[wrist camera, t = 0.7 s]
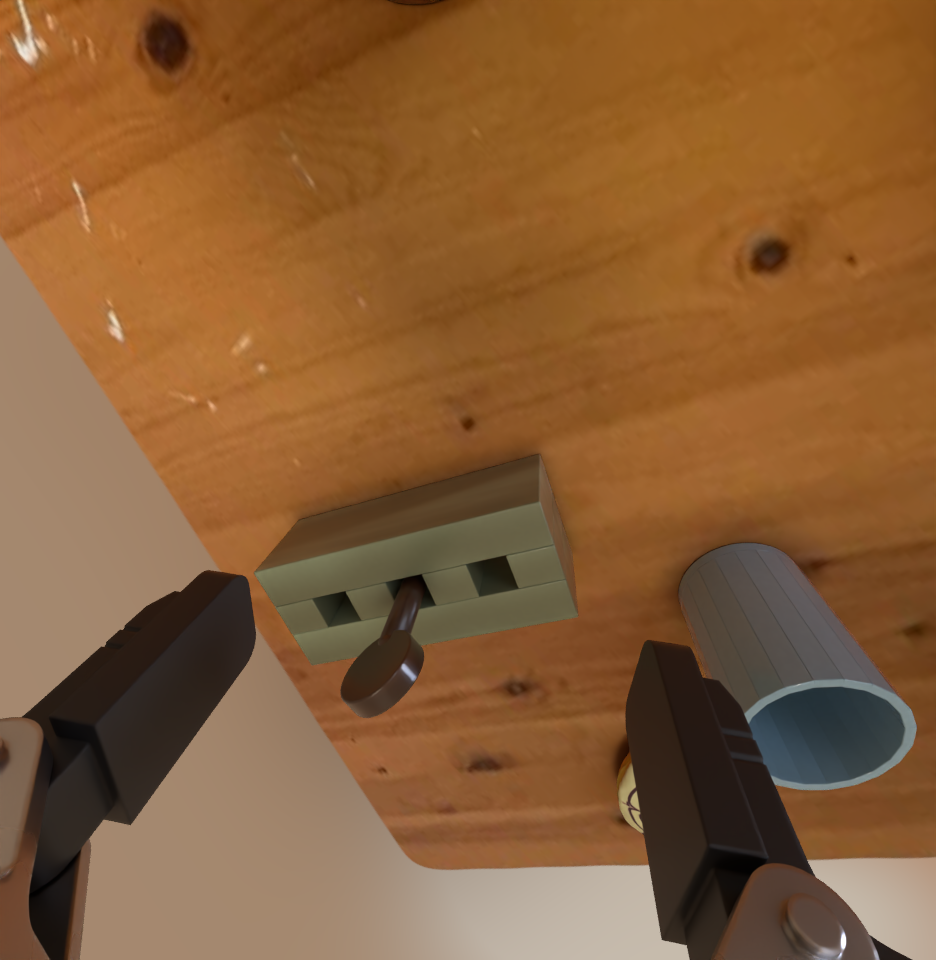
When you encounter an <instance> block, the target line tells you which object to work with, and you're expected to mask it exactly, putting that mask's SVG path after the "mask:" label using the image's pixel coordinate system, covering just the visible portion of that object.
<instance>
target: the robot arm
mask: <svg viewBox="0 0 936 960" xmlns="http://www.w3.org/2000/svg"><path fill="white" fill-rule="evenodd" d="M389 1H393V2H397V3H402V4H426V3H432V2H436V1H439V0H389ZM255 639H256V631H255V623H254V616H253V609H252V602H251V595H250V588H249V582H248V580H247V578H246V577H245V576H242V575H236V574H230V573H223V572H217V571H210V570H207V571H204V572H202V573H201V574H199V575H198V576H197V577H196V578H195V579H194V580H193V581H192V582H191V583H190V584H189V585H188V586H187V587H185V589H183V590H182V591H181V592H176V591H174V592H172V593H170V594H168V595H167V596H165V597H163V598H161V599H159V600H157V601H155V602H153V603H152V604H150V605H148V606H146V607H145V608H144V609H143V610H142V611H141V612H139V613H138V614H137V615H136V616H135V617H134V618H133V619H132V620H131V621H129V622H128V623H127V624H126V625H125V628H124V629H123V630H119V631H118V632H117V633H116V634H115V635H114V636H113V637H111V638H110V639H109V640H108V641H107V642H106V645H105V647H100V648H99V649H98V650H97V651H96V652H95V653H94V654H92V655H91V656H90V657H89V658H88V659H87V660H86V661H85V662H83V663H82V664H81V665H80V666H79V667H78V668H77V669H76V670H75V671H73V672H72V673H71V674H70V675H69V676H68V677H67V678H66V679H65V680H63V681H62V682H61V683H60V684H59V685H58V686H57V687H55V688H54V689H53V690H52V691H51V692H50V693H49V694H48V695H47V696H45V697H44V698H43V699H42V700H41V701H40V702H39V703H38V704H37V705H35V706H34V707H33V708H32V709H31V710H30V711H29V712H27V713H26V714H25V715H24V716H22V717H11V718H3V719H0V960H80V951H81V940H82V932H83V922H84V912H85V903H86V893H87V883H88V874H89V863H90V854H91V843H90V840H89V838H90V836H91V835H92V834H93V832H94V831H95V830H96V828H97V827H98V826H99V825H100V823H101V822H102V821H103V820H109V821H114V822H119V823H124V824H128V825H131V824H132V822H133V821H134V820H135V818H136V817H137V816H138V814H139V813H140V811H141V810H142V809H143V807H144V806H145V804H146V803H147V802H148V800H149V799H150V798H151V796H152V795H153V793H154V792H155V790H156V789H157V788H158V786H159V785H160V784H161V782H162V781H163V779H164V778H165V777H166V775H167V774H168V773H169V771H170V770H171V768H172V767H173V766H174V764H175V763H176V761H177V760H178V759H179V757H180V756H181V754H182V753H183V752H184V750H185V749H186V747H187V746H188V745H189V743H190V742H191V741H192V739H193V738H194V736H195V735H196V734H197V732H198V731H199V729H200V728H201V727H202V725H203V724H204V723H205V721H206V720H207V718H208V717H209V716H210V714H211V713H212V711H213V710H214V709H215V707H216V706H217V705H218V703H219V702H220V700H221V699H222V698H223V696H224V695H225V693H226V692H227V691H228V689H229V688H230V686H231V685H232V684H233V682H234V681H235V680H236V678H237V677H238V675H239V674H240V673H241V671H242V670H243V669H244V667H245V666H246V664H247V663H248V661H249V659H250V657H251V655H252V652H253V649H254V645H255ZM626 731H627V738H628V743H629V749H630V755H631V761H632V767H633V773H634V779H635V785H636V791H637V796H638V802H639V808H640V814H641V820H642V826H643V832H644V838H645V844H646V849H647V855H648V861H649V867H650V872H651V879H652V885H653V891H654V896H655V902H656V908H657V914H658V920H659V926H660V932H661V938H662V940H664V941H669V942H675V943H679V944H684V945H687V948H688V953H689V958H690V960H912V959H910V958H907V957H906V956H904V955H902V954H900V953H898V952H896V951H894V950H892V949H891V948H889V947H887V946H886V945H884V944H882V943H881V942H879V941H877V940H876V939H875V938H873V937H872V936H870V935H869V934H868V932H867V930H866V929H865V927H864V925H863V924H862V923H861V921H860V920H859V918H858V917H857V915H856V914H855V913H854V912H853V911H852V910H851V908H850V907H849V906H848V905H847V904H846V902H845V901H844V900H843V899H842V898H841V897H840V896H839V895H838V894H837V893H836V892H834V891H833V890H832V889H831V888H830V887H828V886H827V885H826V884H825V883H823V882H822V881H820V880H819V879H817V878H816V877H815V875H814V873H813V871H812V869H811V867H810V865H809V864H808V861H807V859H806V856H805V854H804V852H803V849H802V847H801V845H800V842H799V840H798V838H797V835H796V833H795V831H794V828H793V826H792V824H791V821H790V819H789V817H788V814H787V812H786V810H785V808H784V805H783V803H782V801H781V798H780V796H779V794H778V791H777V789H776V787H775V784H774V782H773V780H772V777H771V775H770V773H769V770H768V768H767V766H766V765H764V764H763V756H762V754H761V752H760V749H759V747H758V745H757V742H756V740H753V733H752V731H751V728H750V726H749V724H748V722H747V719H746V717H745V715H744V712H743V710H742V708H741V706H740V704H739V703H738V702H737V701H736V700H735V699H734V697H733V696H732V695H731V694H730V693H729V692H728V690H727V689H726V688H725V687H724V686H723V685H722V684H721V682H720V681H719V680H714V679H708V678H702V675H701V672H700V670H699V667H698V664H697V661H696V659H695V656H694V653H693V651H692V650H691V648H690V647H688V646H684V645H678V644H671V643H665V642H658V641H652V640H647V641H646V642H645V643H644V645H643V648H642V651H641V654H640V658H639V661H638V664H637V668H636V671H635V674H634V678H633V681H632V684H631V687H630V691H629V694H628V698H627V704H626Z"/></svg>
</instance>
